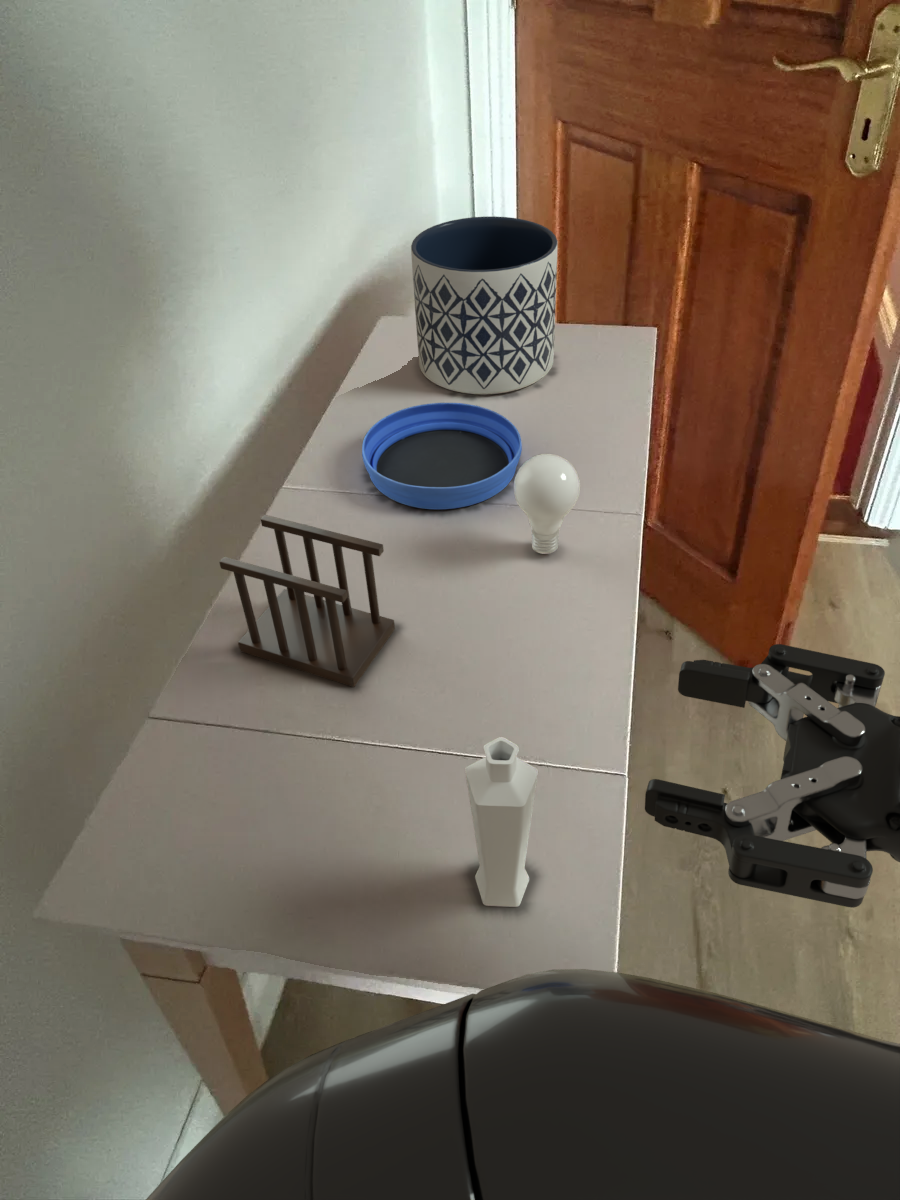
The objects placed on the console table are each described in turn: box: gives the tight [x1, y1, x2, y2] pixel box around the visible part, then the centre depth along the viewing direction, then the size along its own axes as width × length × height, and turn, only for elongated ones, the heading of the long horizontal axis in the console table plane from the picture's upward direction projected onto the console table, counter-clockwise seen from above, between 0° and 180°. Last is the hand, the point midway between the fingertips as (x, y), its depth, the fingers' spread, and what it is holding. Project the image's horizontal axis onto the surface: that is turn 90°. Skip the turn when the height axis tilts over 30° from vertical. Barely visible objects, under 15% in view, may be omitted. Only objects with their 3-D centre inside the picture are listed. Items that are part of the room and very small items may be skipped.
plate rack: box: [219, 514, 396, 688], centre depth 81 cm, size 12×8×10 cm, turn 66°
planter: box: [410, 215, 559, 395], centre depth 118 cm, size 18×18×16 cm
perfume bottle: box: [464, 736, 539, 908], centre depth 60 cm, size 5×4×15 cm
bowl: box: [361, 402, 523, 510], centre depth 104 cm, size 18×18×4 cm
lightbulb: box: [513, 453, 581, 555], centre depth 89 cm, size 6×6×11 cm
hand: (663, 733), depth 49 cm, fingers open, 8 cm apart
